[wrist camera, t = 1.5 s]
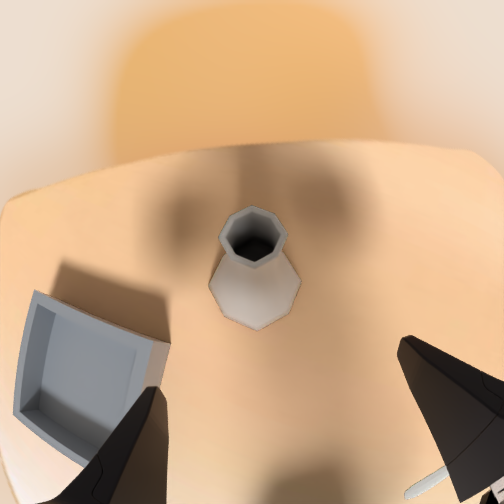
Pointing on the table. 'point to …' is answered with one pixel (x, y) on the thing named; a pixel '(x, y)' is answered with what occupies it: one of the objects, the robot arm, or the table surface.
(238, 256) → the flask
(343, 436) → the table surface
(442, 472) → the butter knife
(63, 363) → the tray
